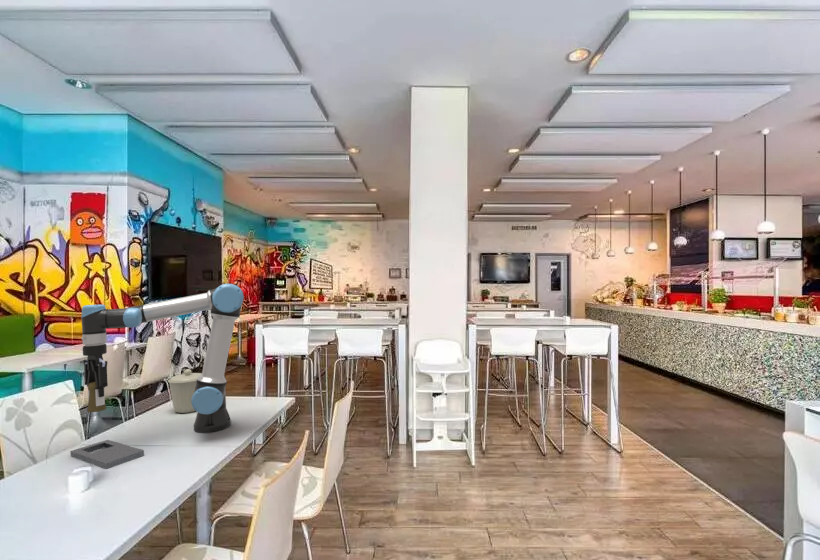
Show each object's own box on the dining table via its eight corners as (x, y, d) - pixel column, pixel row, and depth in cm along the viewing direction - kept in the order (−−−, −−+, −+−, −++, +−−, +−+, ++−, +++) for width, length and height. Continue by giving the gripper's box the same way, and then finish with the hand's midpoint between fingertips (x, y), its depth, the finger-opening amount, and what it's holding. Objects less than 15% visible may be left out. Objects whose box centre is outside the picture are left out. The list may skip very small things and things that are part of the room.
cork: (96, 412, 166) (95, 383, 166) (83, 412, 167) (82, 383, 167) (110, 407, 171) (109, 380, 171) (97, 407, 173) (96, 379, 173)
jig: (144, 455, 164) (143, 450, 164) (106, 469, 153) (105, 463, 153) (108, 444, 178) (107, 439, 178) (70, 456, 166) (70, 451, 166)
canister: (189, 416, 212) (188, 373, 212) (160, 414, 217) (158, 372, 217) (216, 406, 229) (214, 366, 230) (188, 404, 235) (187, 365, 235)
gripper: (72, 344, 171) (74, 404, 170) (95, 347, 161) (97, 409, 161) (94, 342, 177) (95, 399, 177) (117, 344, 168) (119, 404, 168)
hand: (96, 404), depth 169 cm, fingers closed on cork, 5 cm apart
